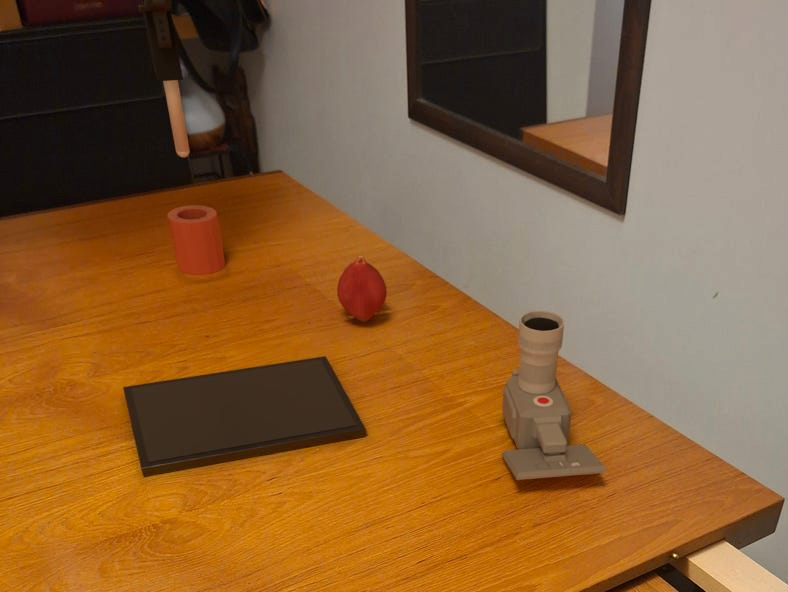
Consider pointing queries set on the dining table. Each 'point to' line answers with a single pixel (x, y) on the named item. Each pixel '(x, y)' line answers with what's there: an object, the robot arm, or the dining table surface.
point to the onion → (361, 290)
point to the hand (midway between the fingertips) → (169, 76)
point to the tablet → (239, 415)
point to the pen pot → (196, 239)
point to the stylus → (177, 117)
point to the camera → (541, 407)
